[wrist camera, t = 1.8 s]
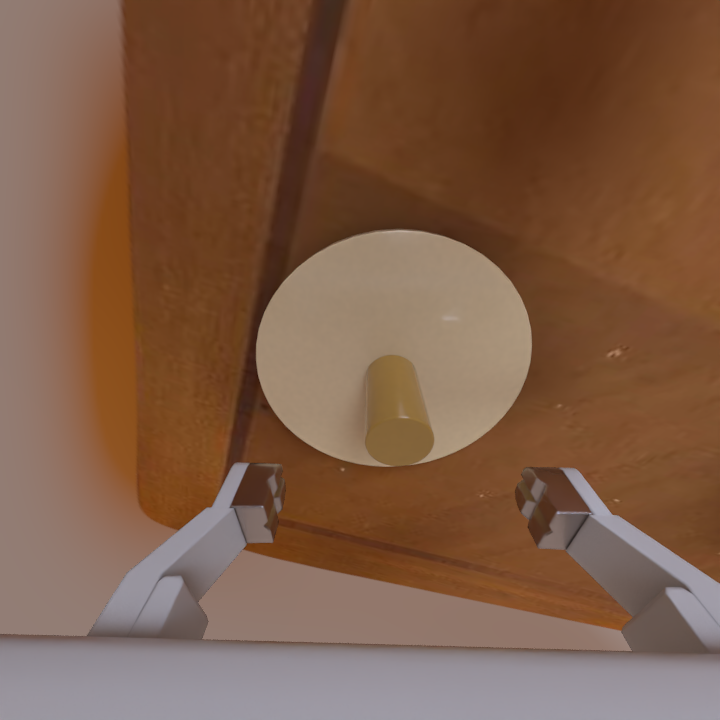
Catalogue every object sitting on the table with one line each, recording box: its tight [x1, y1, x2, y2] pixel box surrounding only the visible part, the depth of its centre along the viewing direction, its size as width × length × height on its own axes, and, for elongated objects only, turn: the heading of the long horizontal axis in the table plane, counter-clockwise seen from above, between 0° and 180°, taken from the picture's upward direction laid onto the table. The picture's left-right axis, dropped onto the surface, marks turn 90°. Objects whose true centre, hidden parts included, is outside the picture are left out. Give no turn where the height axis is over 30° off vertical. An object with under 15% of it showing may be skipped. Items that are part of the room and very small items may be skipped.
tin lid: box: [256, 229, 532, 467], centre depth 13 cm, size 14×14×6 cm
